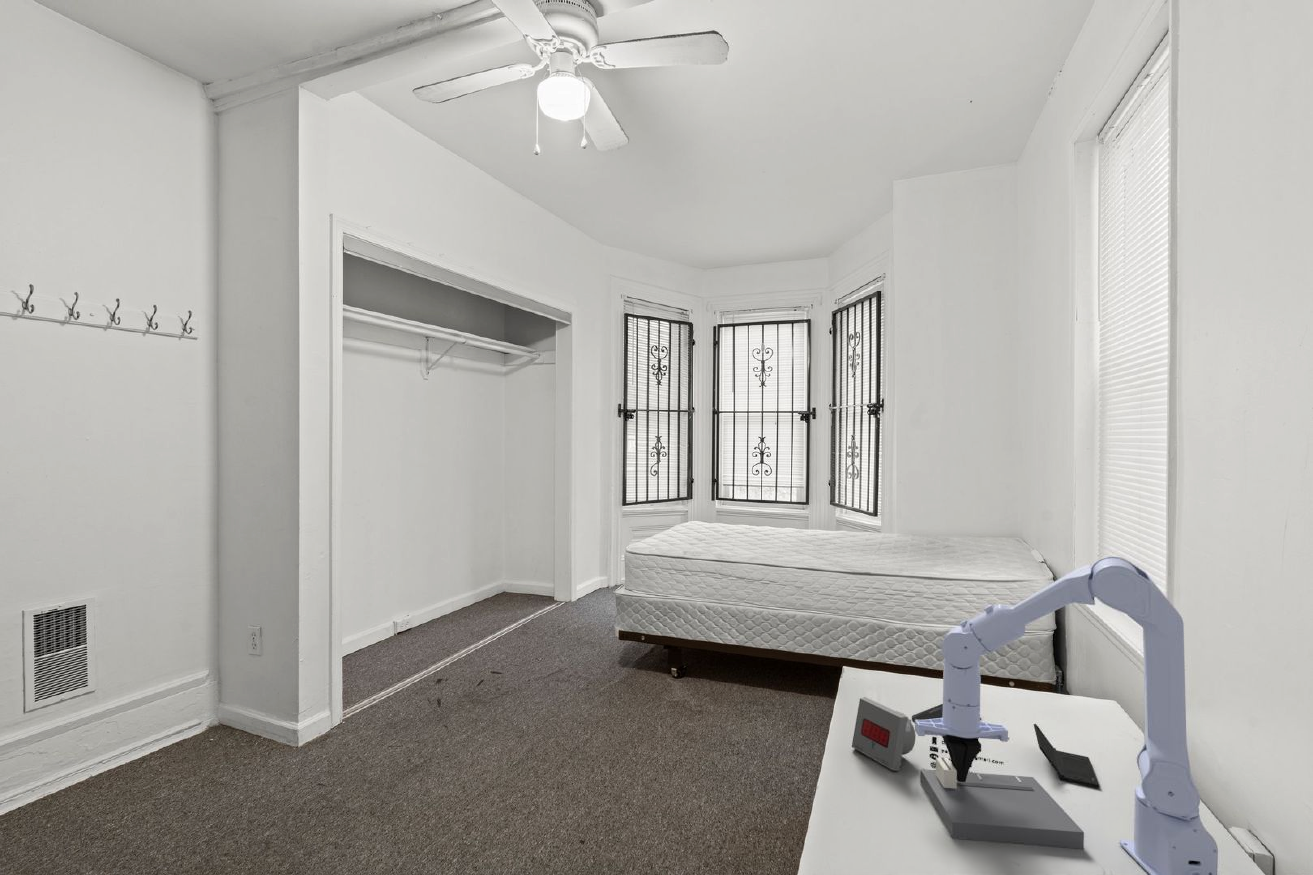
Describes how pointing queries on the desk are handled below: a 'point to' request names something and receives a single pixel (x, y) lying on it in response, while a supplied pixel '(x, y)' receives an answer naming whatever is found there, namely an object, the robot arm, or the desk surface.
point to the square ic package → (929, 713)
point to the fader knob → (946, 773)
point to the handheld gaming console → (1068, 763)
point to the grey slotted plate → (1001, 810)
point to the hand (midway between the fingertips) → (959, 778)
